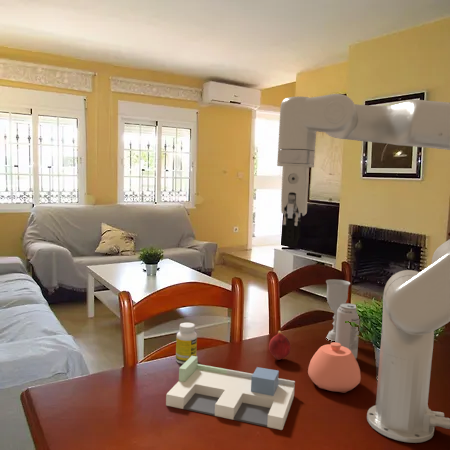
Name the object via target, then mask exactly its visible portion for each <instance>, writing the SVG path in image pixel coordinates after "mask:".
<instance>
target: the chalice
mask: <svg viewBox="0 0 450 450" xmlns="http://www.w3.org/2000/svg"><path fill="white" fill-rule="evenodd" d="M325 283H326V300H327V303H328V306H329V307H330V310H331V311H332V312H333V316H332V319H333V322H332V323H331V324H332V325H333V328H332V329H331V330H329V331H328V334H327V335H326V337H325V339H326V338H327V339H328V340H327V339H326V340H327V341H329V340H331V341H330V342H332V341H335V338H336V323H337V310H338V309H339V307H340V304H342V303H347V300H348V295H349V294H348V293H349V287H350V285H351V282H350V281H347V280H343V279H326V280H325Z"/></svg>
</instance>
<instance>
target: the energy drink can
mask: <svg viewBox="0 0 450 450" xmlns="http://www.w3.org/2000/svg"><path fill="white" fill-rule="evenodd" d="M356 305H357V304H354V303H349V302H346V303H342V304H340V307H339V309H338V310H337V323H336V338H335V342H337V343H340V344H341V346H344V347H346V348H348V349H349V350H350V351H351V352H352V354H353V355H354V357H355V359H356V360H357V358H358V351H359V349H358V347H359V337H358V336H356V335H359V334H360V330H359V331H358V327H352V326H351V325H350V323H345V321H349V322H355V323H356V324H358V325H359V326H360V320H361V319H359V316H358V314H357V312H356Z"/></svg>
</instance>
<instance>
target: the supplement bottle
mask: <svg viewBox="0 0 450 450" xmlns="http://www.w3.org/2000/svg"><path fill="white" fill-rule="evenodd" d="M195 327H196V324H195V323H192V322H181V323H180V324H179V331H178V332H177V333H176V341H175V343H176V344H175V345H176V346H175V361H176V362H177V363H178V364H181V365H183V364H184V363H185V362H186V361H187V360H188V359H189V358H190V357H191V356H197V348H198V347H197V346H198V334H197V333H196V332H195V330H196V328H195Z"/></svg>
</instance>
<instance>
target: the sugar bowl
mask: <svg viewBox="0 0 450 450" xmlns="http://www.w3.org/2000/svg"><path fill="white" fill-rule="evenodd" d="M307 369H308V370H307V373H308V376H309V379H310V380H311V381H312V382H313V384H314V385H316V387H318V388H319V389H322V390H327V391H330V392H337V393H341V394H343V393H345V394H346V393H347V392H349V391H352V390H353V389H354V388H356V387H357V386H358V385H359V384H360V382H361V379H362V377H361V369H360V366H359V363H358V361H357V358H356V359H355V357H354V355H353V354H352V352H351V351H350V350H349V349H348V348H346V347H344V346H341V344H340V343H337V342H330V344H324V345H322V346H320V347H319V348H318V349H317V351H316V352H315V353H314V354H313V356H312V358H311V359H310V362H309V364H308V367H307Z"/></svg>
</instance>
